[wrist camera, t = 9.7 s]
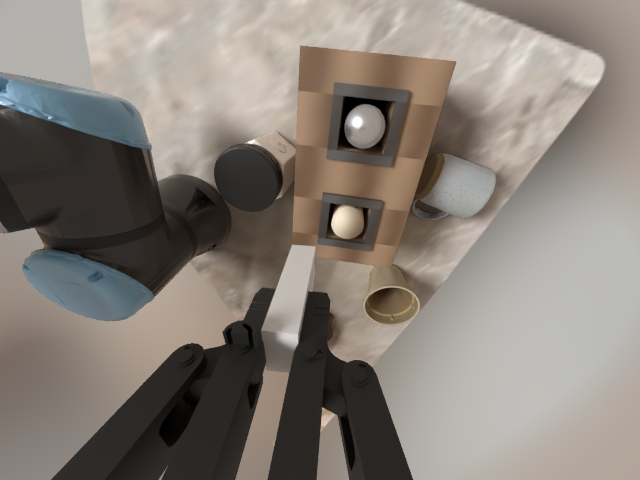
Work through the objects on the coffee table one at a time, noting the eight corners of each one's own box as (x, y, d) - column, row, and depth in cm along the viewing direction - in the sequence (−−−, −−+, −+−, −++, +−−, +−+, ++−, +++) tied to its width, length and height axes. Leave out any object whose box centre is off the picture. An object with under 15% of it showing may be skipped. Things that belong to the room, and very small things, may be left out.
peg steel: (344, 133, 35) (341, 146, 25) (349, 101, 32) (347, 102, 23) (372, 136, 34) (380, 150, 25) (378, 104, 32) (389, 106, 23)
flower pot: (387, 299, 52) (392, 333, 44) (352, 278, 50) (352, 309, 42) (420, 273, 47) (432, 305, 40) (383, 247, 45) (388, 276, 38)
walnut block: (305, 217, 44) (290, 255, 33) (317, 62, 32) (299, 44, 21) (382, 228, 43) (392, 270, 32) (422, 73, 31) (459, 60, 21)
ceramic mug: (430, 145, 36) (447, 156, 29) (481, 163, 36) (509, 178, 29) (397, 207, 41) (405, 228, 35) (441, 222, 42) (457, 246, 35)
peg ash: (335, 204, 40) (329, 236, 31) (338, 180, 38) (333, 207, 29) (358, 207, 40) (360, 240, 31) (363, 184, 38) (366, 212, 28)
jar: (310, 159, 39) (294, 180, 28) (281, 195, 42) (258, 225, 32) (264, 119, 36) (229, 127, 26) (239, 160, 40) (199, 181, 30)
